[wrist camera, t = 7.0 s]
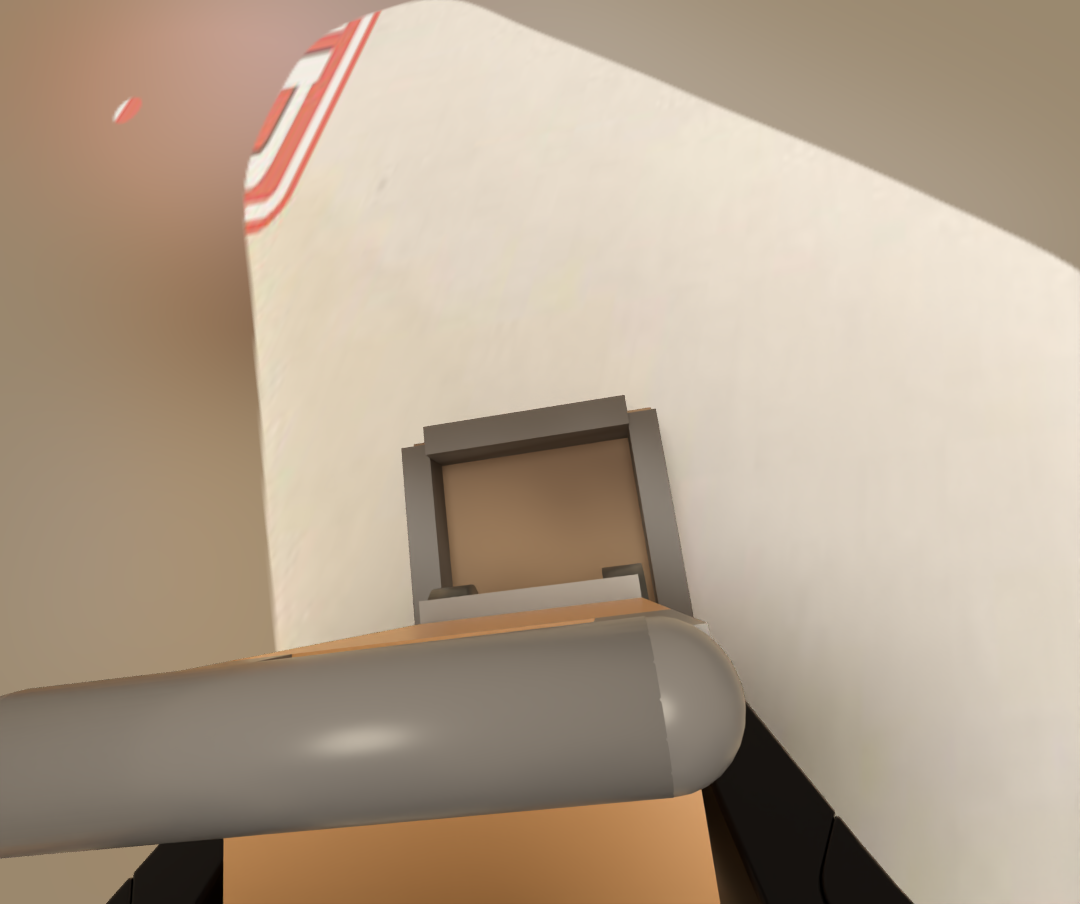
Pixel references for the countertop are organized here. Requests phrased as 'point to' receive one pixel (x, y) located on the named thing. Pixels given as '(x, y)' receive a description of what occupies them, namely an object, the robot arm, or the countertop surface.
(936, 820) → the countertop surface
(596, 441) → the dock
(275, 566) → the countertop surface
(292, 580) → the countertop surface
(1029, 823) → the countertop surface
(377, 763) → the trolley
